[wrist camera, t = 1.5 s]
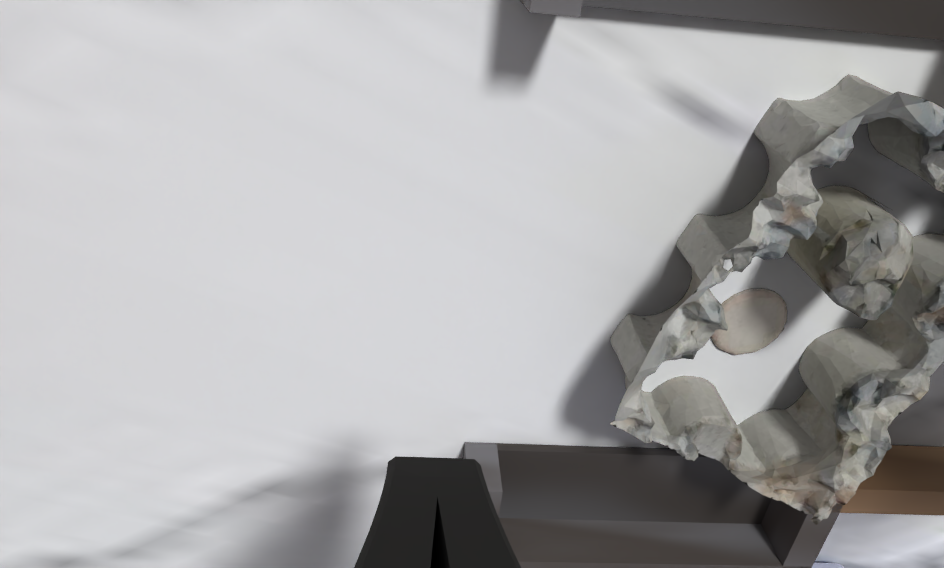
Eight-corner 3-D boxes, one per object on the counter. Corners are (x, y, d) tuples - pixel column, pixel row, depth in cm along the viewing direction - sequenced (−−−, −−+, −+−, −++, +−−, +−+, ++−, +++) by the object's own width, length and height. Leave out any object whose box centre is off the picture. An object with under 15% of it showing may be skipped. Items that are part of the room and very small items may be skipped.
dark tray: (1094, 544, 26) (1168, 618, 23) (454, 530, 24) (457, 610, 21) (1599, -92, 16) (1832, -88, 13) (545, -227, 13) (573, -252, 11)
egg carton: (753, 440, 23) (813, 543, 19) (563, 356, 21) (592, 455, 17) (1020, 170, 18) (1161, 240, 15) (814, 26, 16) (922, 68, 13)
